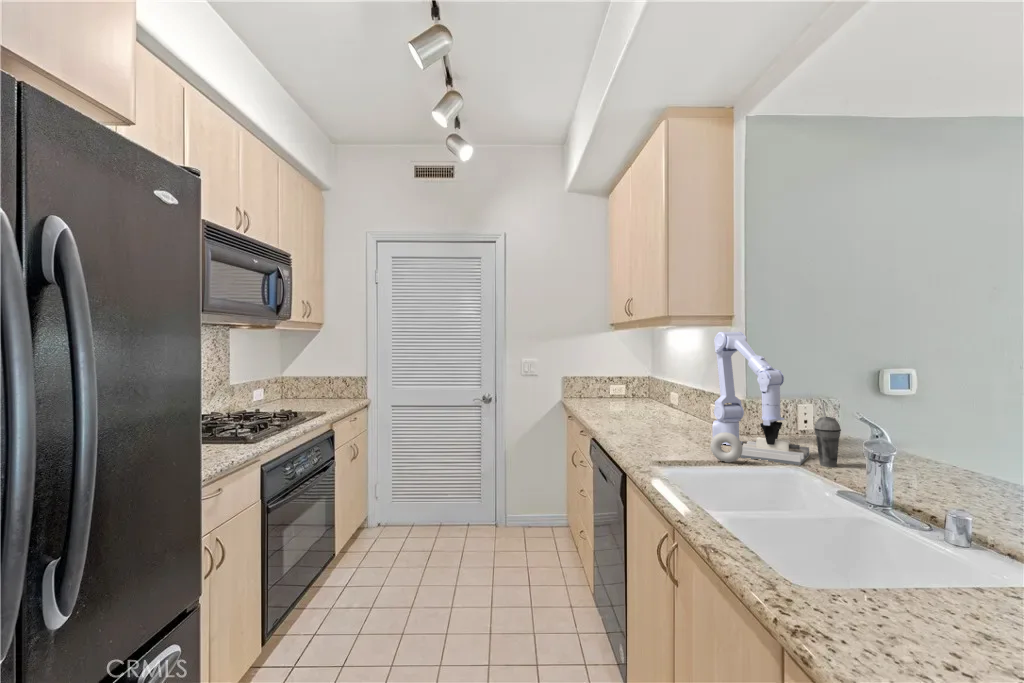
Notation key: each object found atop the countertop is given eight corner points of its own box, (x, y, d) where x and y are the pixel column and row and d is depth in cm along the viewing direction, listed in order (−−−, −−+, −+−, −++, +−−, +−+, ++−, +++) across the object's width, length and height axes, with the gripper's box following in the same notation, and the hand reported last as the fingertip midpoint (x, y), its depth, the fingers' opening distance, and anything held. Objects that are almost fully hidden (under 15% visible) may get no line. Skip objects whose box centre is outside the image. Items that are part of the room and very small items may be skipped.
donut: (743, 463, 161) (743, 432, 161) (741, 465, 158) (741, 434, 158) (712, 459, 167) (711, 430, 167) (709, 461, 164) (708, 431, 164)
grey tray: (734, 457, 170) (734, 449, 170) (747, 448, 183) (747, 440, 183) (800, 465, 157) (800, 456, 157) (809, 455, 170) (809, 447, 170)
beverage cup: (846, 468, 152) (844, 404, 152) (820, 467, 153) (819, 404, 154) (835, 463, 159) (834, 401, 159) (811, 462, 160) (809, 401, 161)
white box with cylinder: (756, 448, 172) (756, 438, 172) (758, 447, 174) (758, 437, 174) (798, 453, 164) (798, 442, 164) (800, 451, 166) (800, 441, 166)
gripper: (779, 407, 162) (780, 448, 162) (788, 403, 173) (788, 441, 173) (756, 406, 167) (757, 446, 166) (766, 401, 178) (767, 439, 178)
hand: (771, 443), depth 170 cm, fingers closed on white box with cylinder, 3 cm apart
